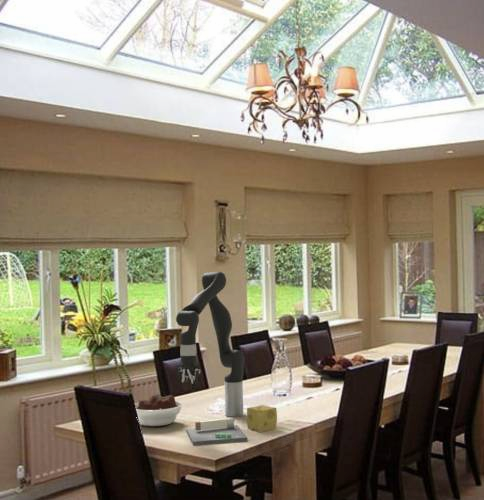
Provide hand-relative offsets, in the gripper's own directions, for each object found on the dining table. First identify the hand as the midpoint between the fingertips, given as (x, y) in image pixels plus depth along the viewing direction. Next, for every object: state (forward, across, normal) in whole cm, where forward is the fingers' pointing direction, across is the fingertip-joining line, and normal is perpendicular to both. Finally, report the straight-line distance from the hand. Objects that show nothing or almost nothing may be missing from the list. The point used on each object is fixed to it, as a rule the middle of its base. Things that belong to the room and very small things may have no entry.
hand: (189, 390), depth 333 cm
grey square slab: (+19, +15, +1) cm, 24 cm away
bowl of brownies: (+20, -25, +3) cm, 32 cm away
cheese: (+20, +24, +24) cm, 39 cm away
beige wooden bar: (+18, +10, +6) cm, 21 cm away
